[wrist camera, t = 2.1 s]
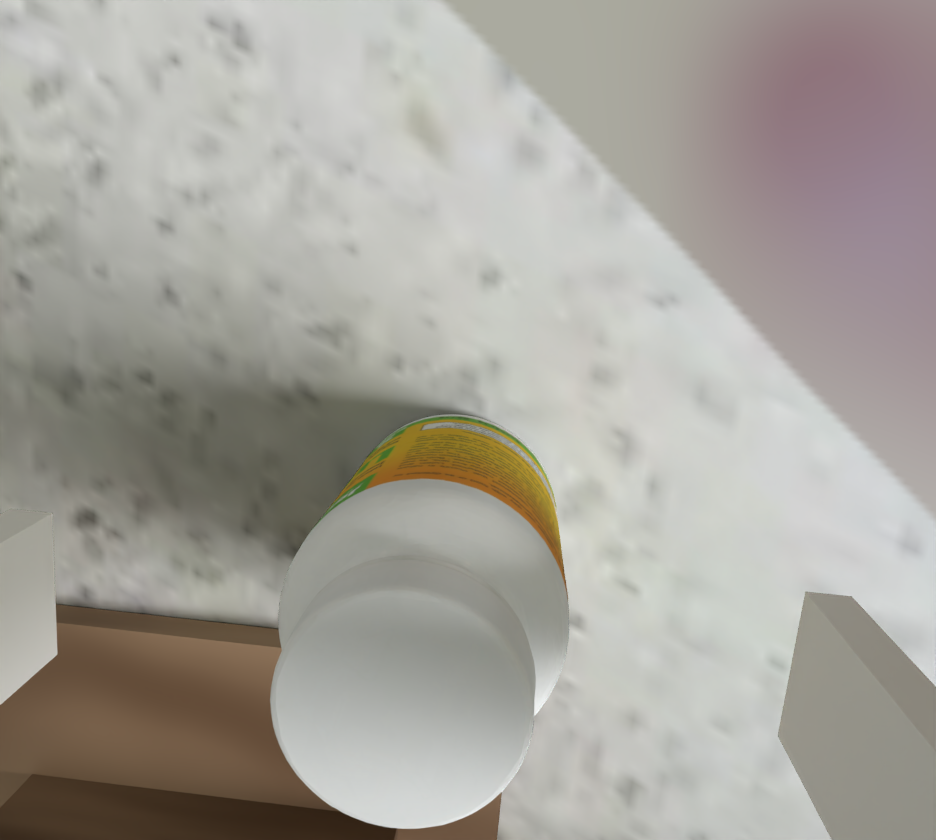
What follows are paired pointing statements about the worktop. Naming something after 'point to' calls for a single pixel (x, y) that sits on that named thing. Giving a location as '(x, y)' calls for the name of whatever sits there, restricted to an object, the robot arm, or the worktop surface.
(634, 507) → the worktop surface
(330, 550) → the supplement bottle
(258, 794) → the wooden cradle tray
